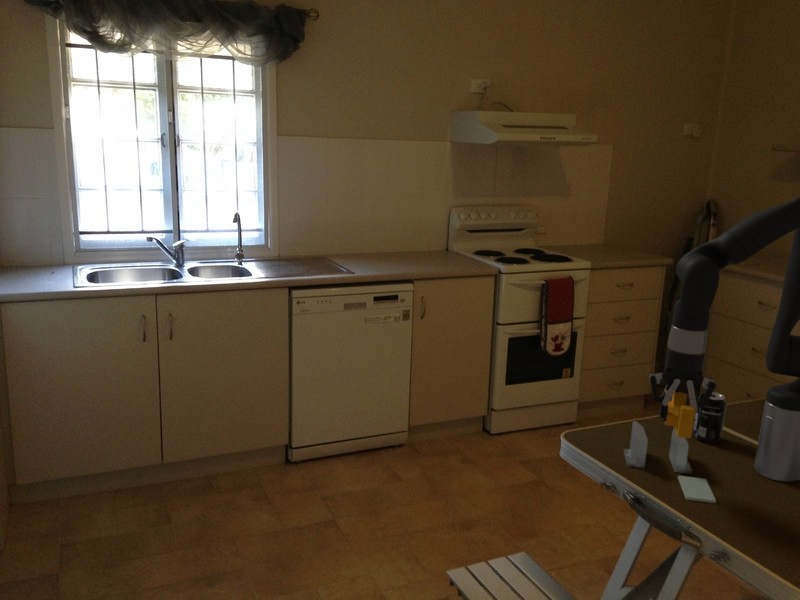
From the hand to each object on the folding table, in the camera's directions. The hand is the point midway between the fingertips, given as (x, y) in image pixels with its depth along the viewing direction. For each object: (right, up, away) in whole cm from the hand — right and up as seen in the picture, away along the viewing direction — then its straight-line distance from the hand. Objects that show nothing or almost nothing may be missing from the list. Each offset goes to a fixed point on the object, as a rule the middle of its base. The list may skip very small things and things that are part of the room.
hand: (675, 420), depth 157 cm
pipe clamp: (0, -1, 0) cm, 1 cm away
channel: (+1, -12, +15) cm, 19 cm away
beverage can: (+19, -10, +28) cm, 35 cm away
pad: (+5, -15, +1) cm, 16 cm away
